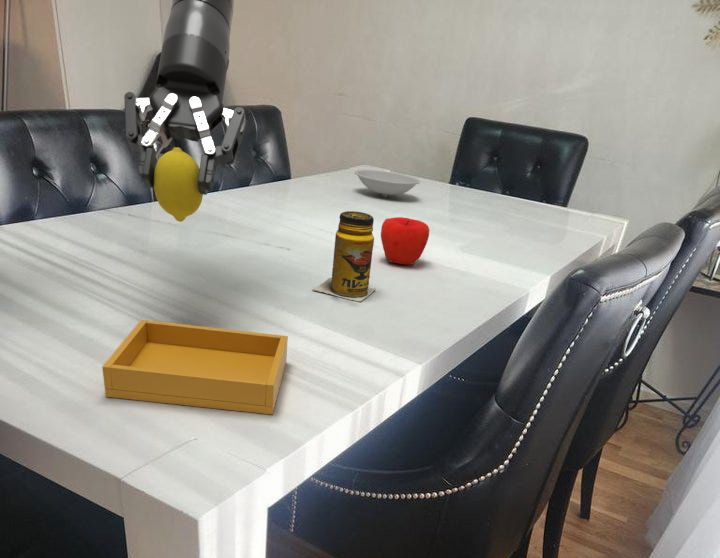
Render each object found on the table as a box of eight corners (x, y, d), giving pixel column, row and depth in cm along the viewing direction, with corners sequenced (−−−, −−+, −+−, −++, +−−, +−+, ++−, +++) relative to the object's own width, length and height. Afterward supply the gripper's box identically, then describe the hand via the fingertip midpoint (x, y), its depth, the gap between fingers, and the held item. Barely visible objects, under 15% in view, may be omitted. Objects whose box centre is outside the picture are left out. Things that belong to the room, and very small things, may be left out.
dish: (344, 194, 170) (346, 173, 167) (362, 186, 181) (364, 167, 179) (409, 206, 166) (412, 186, 163) (422, 198, 178) (425, 178, 175)
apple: (383, 269, 118) (389, 224, 114) (372, 254, 125) (377, 212, 121) (429, 271, 120) (437, 227, 116) (416, 257, 127) (423, 215, 123)
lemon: (204, 217, 80) (202, 145, 75) (203, 229, 75) (201, 153, 71) (157, 214, 79) (153, 140, 74) (154, 226, 74) (149, 148, 70)
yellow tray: (105, 397, 68) (102, 366, 66) (143, 346, 79) (141, 319, 77) (272, 414, 69) (273, 385, 67) (286, 362, 80) (287, 335, 78)
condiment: (360, 302, 102) (369, 223, 95) (311, 290, 104) (317, 212, 97) (376, 290, 107) (385, 214, 101) (329, 279, 109) (335, 204, 103)
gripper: (124, 22, 72) (99, 156, 69) (253, 40, 73) (235, 173, 70) (141, 75, 79) (119, 199, 76) (258, 91, 80) (242, 214, 77)
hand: (175, 186), depth 73 cm, fingers closed on lemon, 5 cm apart
